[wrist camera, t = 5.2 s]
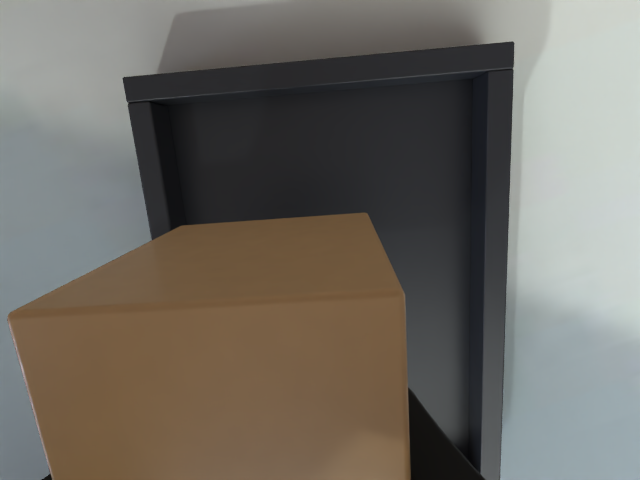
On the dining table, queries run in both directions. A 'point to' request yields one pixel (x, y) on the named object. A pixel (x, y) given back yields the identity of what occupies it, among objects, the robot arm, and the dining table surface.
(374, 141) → the tray
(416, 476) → the robot arm
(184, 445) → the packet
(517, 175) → the dining table surface
